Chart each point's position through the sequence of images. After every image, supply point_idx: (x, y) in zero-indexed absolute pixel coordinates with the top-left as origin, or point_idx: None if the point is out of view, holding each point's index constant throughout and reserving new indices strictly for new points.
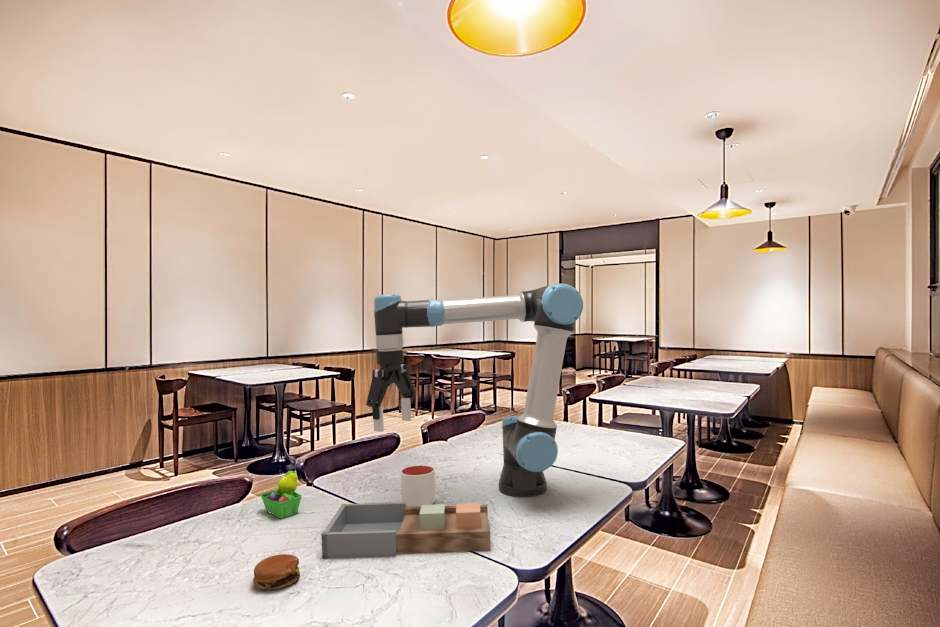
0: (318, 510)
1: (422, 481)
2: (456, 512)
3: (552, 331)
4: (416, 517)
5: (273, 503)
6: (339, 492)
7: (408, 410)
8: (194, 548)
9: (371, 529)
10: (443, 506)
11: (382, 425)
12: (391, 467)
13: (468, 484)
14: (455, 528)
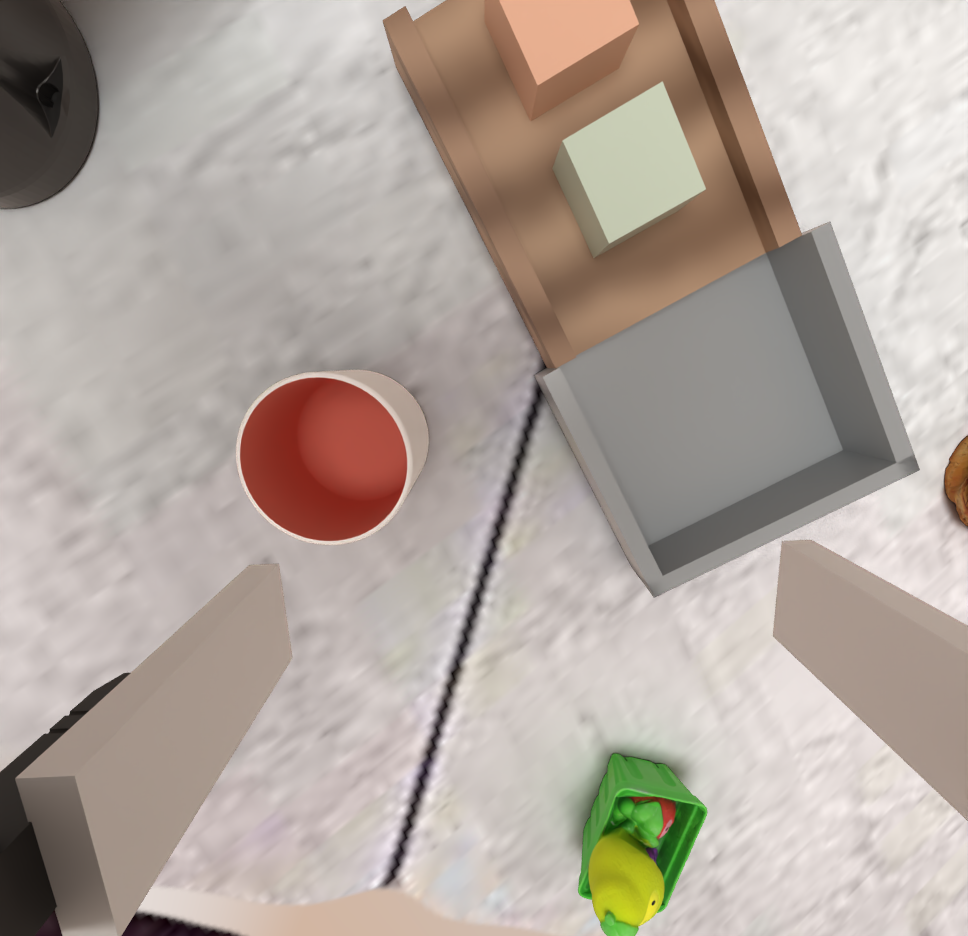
0: (564, 713)
1: (385, 391)
2: (634, 23)
3: None
4: (576, 297)
5: (693, 827)
6: (403, 763)
7: (219, 642)
8: (902, 813)
9: (648, 440)
10: (590, 130)
11: (847, 566)
12: None
13: (76, 363)
14: (614, 76)
